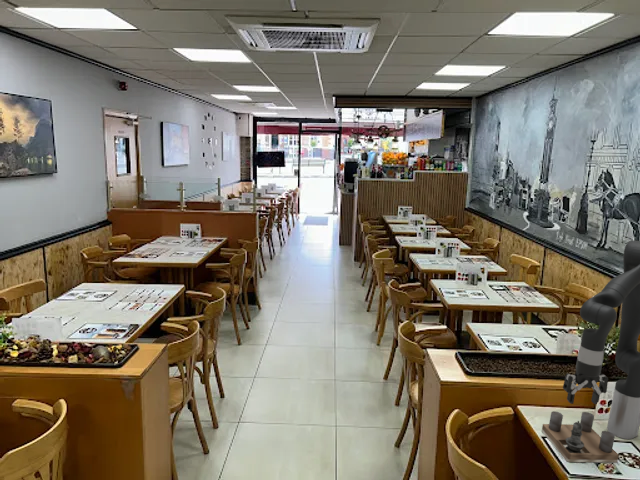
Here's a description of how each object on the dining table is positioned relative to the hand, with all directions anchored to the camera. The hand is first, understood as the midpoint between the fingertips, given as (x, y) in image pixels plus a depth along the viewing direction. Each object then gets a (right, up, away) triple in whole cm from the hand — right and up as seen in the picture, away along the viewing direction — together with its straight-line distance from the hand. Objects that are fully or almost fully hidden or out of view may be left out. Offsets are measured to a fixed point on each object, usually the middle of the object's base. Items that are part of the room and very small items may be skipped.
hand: (582, 402), depth 169 cm
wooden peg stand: (+3, -19, +9) cm, 21 cm away
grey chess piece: (-1, -19, +4) cm, 19 cm away
